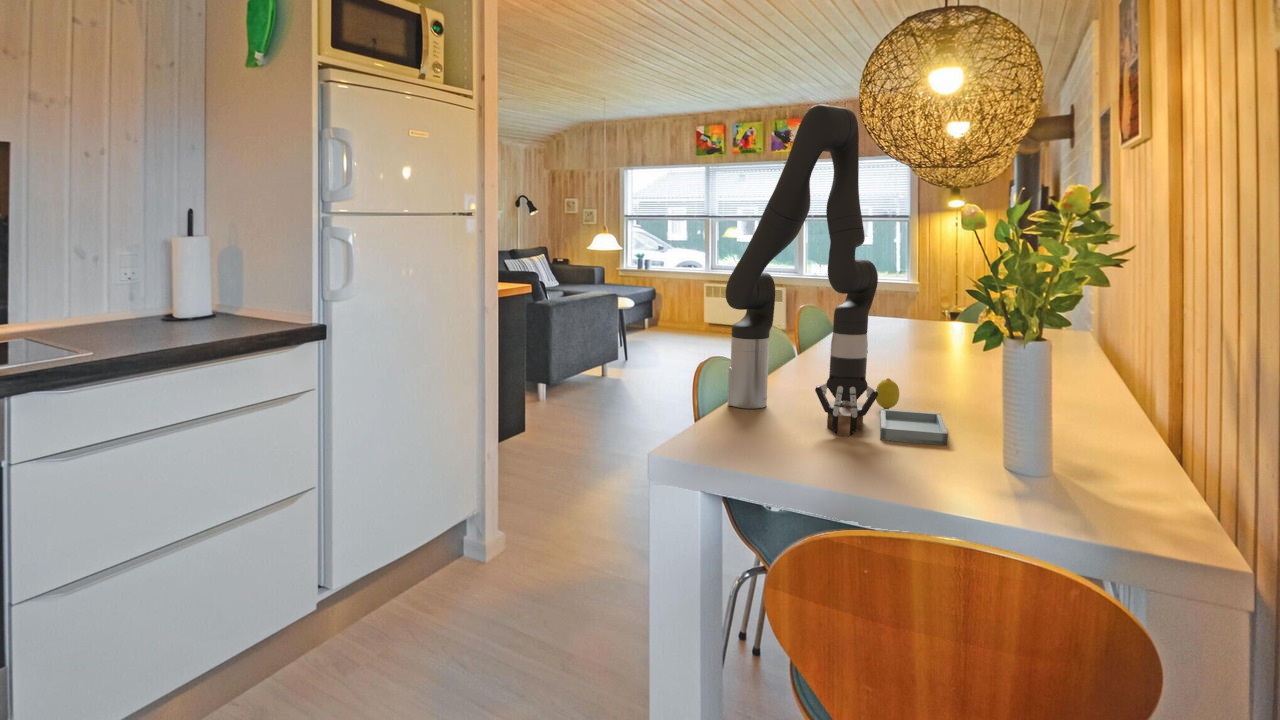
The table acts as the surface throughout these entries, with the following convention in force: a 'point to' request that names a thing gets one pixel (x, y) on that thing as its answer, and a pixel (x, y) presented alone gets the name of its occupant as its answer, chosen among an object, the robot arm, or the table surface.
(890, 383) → the lemon
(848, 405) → the peg
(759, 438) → the table surface
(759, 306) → the robot arm
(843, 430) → the collar
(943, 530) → the table surface
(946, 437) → the tray
